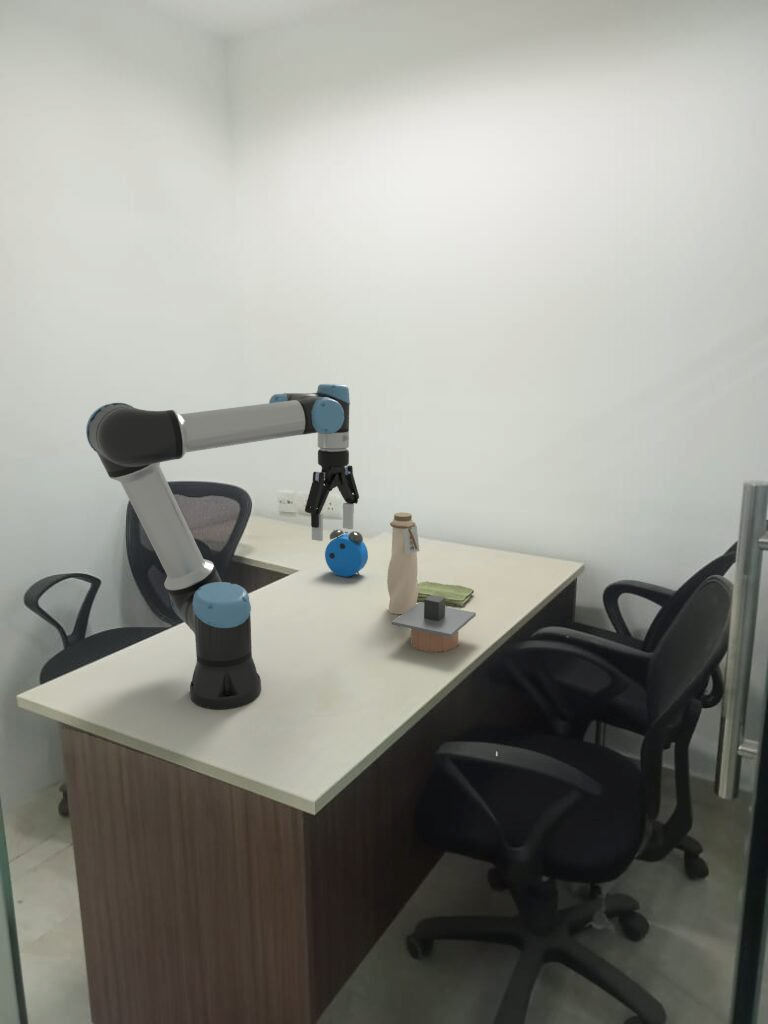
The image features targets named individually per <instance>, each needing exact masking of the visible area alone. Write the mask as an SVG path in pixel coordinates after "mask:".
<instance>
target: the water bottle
mask: <svg viewBox="0 0 768 1024" xmlns="http://www.w3.org/2000/svg"><path fill="white" fill-rule="evenodd" d="M412 517H413V515H412V513H409V512H396V513H393V519H392V521H391V522H390V523H389V525H390V526H391V527H392V531H391V532H392V533H391V535H392V536H391V537H392V538H391V556H390V561H389V563H388V564H389V565H388V568H387V576H386V577H387V580H386V582H387V583H386V584H387V585H386V586H387V591H388V595H389V603H388V609H389V610H388V611H389V612H390V613H391V612H392V613H391V614H393V613H395V615H400V614H403V613H405V612H406V611H408V610H409V609H410V608H412V607H413V606H415V605H416V604H417V603H418V601H417V598H418V584H419V582H418V554H417V553H418V552H420V545H419V535H418V528H417V527H418V526H417V524H416V522H414V519H413V518H412Z"/></svg>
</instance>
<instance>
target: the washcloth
mask: <svg viewBox="0 0 768 1024" xmlns="http://www.w3.org/2000/svg"><path fill="white" fill-rule="evenodd" d="M474 592H475V591H474V589H472V588H470V587H467V586H463V585H457V584H448V583H447V584H445V583H444V584H443V583H439V582H432V581H421V582H418V598H417V602H423V603H424V599H426V598H427V597H429V596H430V595H435V596H440V597H445V606H454V607H463V606H464V604H465V603H466V602H467V601H468V600H469V599H470V598H471V596H472V595H473V594H474Z"/></svg>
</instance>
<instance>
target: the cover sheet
mask: <svg viewBox="0 0 768 1024" xmlns="http://www.w3.org/2000/svg"><path fill="white" fill-rule="evenodd" d="M476 613H477V612H473V611H468V610H463V609H458V608H453V607H448V606H446V605H445V597H440V596H435V595H430V596H429V597H427V598H426V599H424V602H420V601H418V602H417V603H416V605H415V606H413V607H412V608H410V609H409V610H408V611H406V612H405V613H403V614H402V615H399V616H398V617H396V618H395V619H393V620H391V625H392V626H394V627H395V626H397V627H401V628H406V629H410V630H411V629H414V630H419V631H424V632H428V633H433V634H438V635H442V636H447V637H452V636H453V635H454V634H455V633H456V632H458V633H459V631H460V630H461V629H462V628H464V627H465V626H466V625H467V624H468V623H469V622H471V620H473V619H474V617H476V616H477V614H476Z"/></svg>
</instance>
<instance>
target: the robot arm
mask: <svg viewBox="0 0 768 1024" xmlns="http://www.w3.org/2000/svg"><path fill="white" fill-rule="evenodd" d="M350 405H351V402H350V388H349V387H348V386H347V384H342V383H320V384H318V386H317V391H316V392H312V393H310V392H309V393H307V392H306V393H304V392H303V393H301V392H300V393H297V392H296V393H295V392H293V393H292V392H291V393H289V392H288V393H286V392H284V393H275V394H273V395H272V396H271V397H270V399H269V401H268V403H261V404H252V405H244V406H236V407H228V408H220V409H219V408H218V409H212V410H204V411H195V412H188V413H179V412H177V411H176V410H175V409H167V410H146V409H141V408H137V407H134V406H132V405H131V404H128V403H124V402H111V403H105V404H104V405H102V406H99V407H98V408H97V409H96V410H94V412H93V413H92V414H91V415H90V416H89V418H88V421H87V422H86V430H85V431H86V439H87V442H88V444H89V446H90V447H91V449H93V451H94V452H96V454H97V455H98V457H99V459H100V462H101V463H102V465H103V467H104V469H105V472H106V473H107V475H108V477H109V479H112V480H114V481H116V482H117V481H118V482H120V484H121V487H122V488H123V491H125V494H126V496H127V498H128V500H129V502H130V504H131V505H132V508H133V510H134V512H135V514H136V515H137V519H139V522H140V525H141V526H142V528H143V530H144V532H145V534H146V536H147V537H148V540H149V542H150V544H151V546H152V548H153V550H154V552H155V553H156V556H157V557H158V559H159V562H160V564H161V566H162V568H163V570H164V571H165V574H166V579H165V581H164V583H163V584H164V585H163V586H164V587H165V590H166V591H167V594H168V595H169V599H170V604H171V607H172V609H173V611H174V613H175V614H176V616H177V617H178V618H179V619H180V620H182V621H183V622H184V623H185V624H186V625H187V626H188V627H189V629H190V630H191V631H192V632H193V633H194V636H195V654H196V662H195V663H196V664H195V667H194V670H193V674H192V678H191V681H190V683H189V684H190V685H189V695H190V700H191V701H192V702H193V703H194V704H195V705H197V706H199V707H202V708H204V709H205V708H206V709H210V710H211V709H213V710H214V709H215V710H224V709H225V710H226V709H233V708H237V707H241V706H245V705H247V704H248V703H251V702H253V701H254V700H256V699H257V698H258V697H259V695H260V694H261V692H262V680H261V677H260V674H259V673H258V671H257V667H256V663H255V662H254V659H253V653H252V648H253V647H252V624H251V623H252V622H251V620H252V619H251V611H252V606H251V601H250V597H249V596H250V595H249V593H248V592H247V590H246V589H245V588H244V587H242V586H241V585H239V584H237V583H232V582H227V581H222V579H221V577H220V575H219V573H218V570H217V569H216V566H215V565H214V562H213V561H211V560H208V559H205V558H204V557H203V555H202V553H201V551H200V548H199V547H198V545H197V542H196V541H195V538H194V536H193V533H192V532H191V530H190V528H189V527H190V526H189V525H188V523H187V521H186V519H185V517H184V515H183V513H182V511H181V509H180V507H179V506H180V505H179V504H178V502H177V500H176V498H175V496H174V493H173V491H172V489H171V487H170V485H169V483H168V481H167V478H166V477H165V475H164V472H163V470H162V468H161V466H160V465H161V463H164V462H168V461H174V460H180V459H183V458H184V456H185V455H186V453H191V452H192V453H193V452H197V451H204V450H211V449H218V448H225V447H229V446H230V447H231V446H236V445H242V444H243V445H244V444H248V443H249V444H250V443H256V442H263V441H264V442H265V441H269V440H274V439H275V440H276V439H282V438H287V437H289V438H290V437H295V436H302V435H311V434H317V448H318V450H317V465H319V466H320V467H321V472H319V471H313V473H312V482H311V486H310V490H309V493H308V496H307V500H306V504H305V508H304V512H305V513H307V514H310V525H311V540H313V541H317V542H323V541H324V533H323V532H324V516H323V515H324V514H323V513H322V510H323V507H324V506H325V503H326V501H327V498H328V497H329V495H330V492H331V491H332V490H333V489H335V488H337V489H338V491H339V494H340V495H341V497H342V498H343V500H344V502H343V503H342V528H343V529H347V530H354V511H355V510H354V508H355V506H354V505H355V504H358V503H359V499H360V495H359V491H358V489H357V488H358V486H357V484H356V481H355V476H354V470H353V466H352V465H349V464H350V452H349V450H348V448H349V447H350V442H349V441H350V429H349V428H350Z"/></svg>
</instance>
